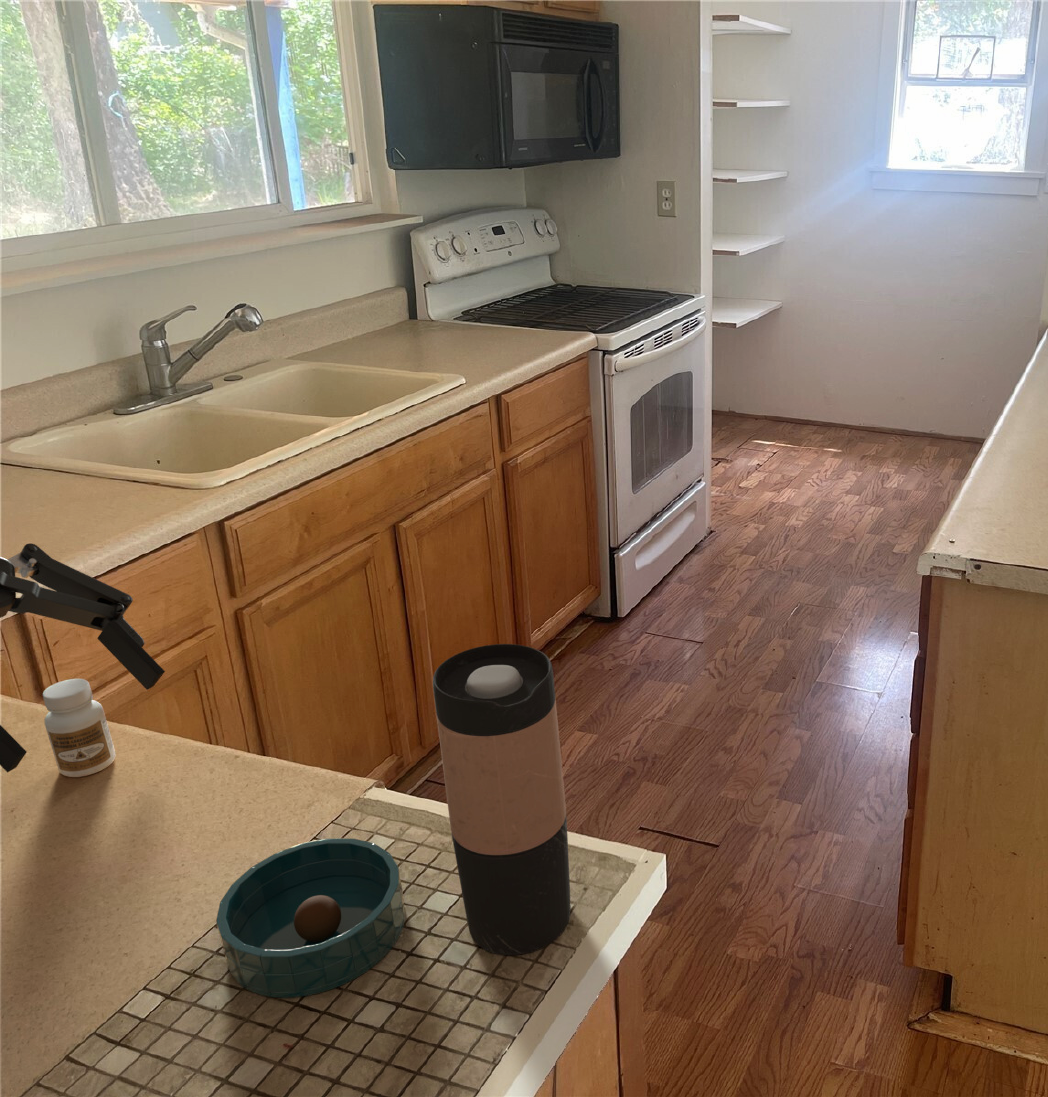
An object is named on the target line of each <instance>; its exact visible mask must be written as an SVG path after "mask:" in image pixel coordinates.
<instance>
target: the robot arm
mask: <svg viewBox="0 0 1048 1097" xmlns="http://www.w3.org/2000/svg"><path fill="white" fill-rule="evenodd" d="M17 573H18V574H19V575H20V577H18V576H16V574H17ZM27 578H30V579H31V580H30V579H27ZM39 584H40V585H42V586H44V587H42V586H40V585H39ZM45 587H46V588H45ZM17 594H21V596H20V597H17ZM133 601H134V600H133V597H132V596H131V595H130V594H128V593H126V592H125V591H123V590H120V589H118V588H115V587H114V586H111V585H109V584H108V583H106V582H103V581H100V580H98V579H97V578H95V577H92V576H90V575H89V574H86V573H84V572H82V571H80V570H77V569H75V568H73V567H71V566H69V565H67V564H65V563H63V562H61V561H58V560H56V559H55V558H52V557H51V556H50V555H49V554H48V553H47V552H45V551H44V550H43V549H42V548H40V547H39V546H38V545H37V544H36V543H32V542H31V543H26V544H24V546H23V548H22V550H21V551H20V552H19V553H17V554H14V555H13V556H11V557H10V558H4V557H2V556H0V619H2V618H3V617H5V616H7V614H8V612H10V613H11V612H12V613H15V614H20V615H21V614H23V615H24V614H27V613H28V614H33V615H37V616H41V617H45V618H50V619H53V620H58V621H61V622H65V623H69V624H73V625H77V626H81V627H85V628H89V629H93V630H97V631H101V632H100V633H99V635H98V636H97V638H96V639H97V641H98V642H100V643H101V644H102V645H103V647H105V648H106V650H108V651H109V652H110V653H111V654H112V655H113V657H114V658H116V660H117V661H118V662H119V663H120V664H121V665H122V667H124V668H125V669H126V670H127V671H128V672H129V673H130V674H131V675H132V676H133V677H134V678H135V679H136V680H137V681H138V682H139V684H140V685H141V686H142V687H143V688H144V689H145V690H146V691H148V690H151V688H153V687H155V685H156V684H157V683H158V682H159V680H160V679H161V678H162V677H163V675H164V673H165V672H166V670H164V668H162V666H161V665H160V664H159V663H158V662H157V661H156V660H155V659H154V658H153V657H152V656H151V655H150V654H149V653H148V652H147V650H145V649H144V648H143V647H144V646H145V644H146V643H145V640H144V638H143V637H142V636H141V635H140V634H139V633H138V632H137V631H136V629H134V628H133V627H132V625H131V624H129V622H128V621H126V619H125V618H124V615H125V613H126V612H127V610H128V609H129V607H130V606H131V604H132V603H133ZM27 753H28V751H27V750H26V749H25V748H24V747H23V746H22V745H21V744H20V743H19V742H18V741H17V740H16V739H15V738H14V737H13V736H12V735H11V734H10V733H9V732H8V731H7V730H6V729H5V728H4V727H3V726H2V724H0V767H1V768H2V769H3V770H4V771H5V772H6V773H9V772H11V771H13V770H14V769H16V768H17V767H18V766H19V764H20V763H21V761H22V760H23V758H24V757H25V756H26V754H27Z"/></svg>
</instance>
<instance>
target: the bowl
mask: <svg viewBox="0 0 1048 1097" xmlns="http://www.w3.org/2000/svg"><path fill="white" fill-rule="evenodd" d="M318 895H324V896H328V897H330V898H332V899H334V900H335V901H336V902H337V904H338V905H339V907H340V910H341V922H340V925H339V927H338V929H337V930H336V932H335V933H334V934H333V935H332V936H330V937H329V938H327V939H325V940H323V941H319V942H310V941H307V940H304V939H303V938H301V937H300V936H299V935H298V933H297V932H296V930H295V926H294V917H295V913H296V911H297V909H298V907H299V906H300V905H301V904H302V903H303V902H304V901H305V900H307V899H308V898H310V897H313V896H318ZM405 919H406V909H405V897H404V891H403V887H402V880H401V872H400V868H399V866H398V863H397V862H396V860H395V859H394V857H393V856H392V854H391V852H389V851H387V850H386V849H384V848H382V847H381V846H380V845H378V844H376V843H375V842H370V841H366V840H362V839H357V838H349V837H348V838H345V837H344V838H343V837H342V838H340V837H339V838H334V837H333V838H332V837H331V838H323V839H317V840H312V841H307V842H306V841H305V842H302V843H300V844H297V845H294V846H291V847H289V848H286V849H283V850H280V851H278V852H275V853H273V854H272V855H270V856H268V857H266V858H264V859H262V860H261V861H259V862H258V863H256V864H254V865H253V866H251V867H249V869H247V870H246V871H245V872H244V873H243V874H242V875H240V876H239V877H238V878H237V879H236V880H235V881H234V882H232V884H231V885H230V886H229V888H228V890H227V891H226V893H225V894H224V896H223V897H222V898H221V900H220V902H219V906H218V910H217V915H216V919H215V924H216V926H217V930H218V934H219V939H220V942H221V946H222V950H223V954H224V957H225V960H226V963H227V968H228V971H229V972H230V974H231V976H232V978H233V979H234V980H235V982H236V983H238V984H239V985H240V987H242V988H243V989H245V990H248V991H249V992H251V993H254V994H257V995H260V996H264V997H269V998H278V999H280V998H281V999H288V998H299V997H301V998H302V997H309V996H312V995H317V994H320V993H324V992H327V991H331V990H333V989H336V988H338V987H341V986H343V985H345V984H347V983H349V982H351V981H353V980H355V979H357V978H359V977H360V976H361V975H364V974H365V973H366V972H368V971H369V970H371V969H372V968H373V967H374V966H376V965H377V964H378V963H379V962H380V961H381V960H382V959H384V958H385V956H386V955H388V954H389V952H390V951H391V950H392V949H393V947H394V946H395V944H396V943H397V941H398V939H399V938H400V936H401V934H402V931H403V928H404V925H405Z"/></svg>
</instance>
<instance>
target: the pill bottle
mask: <svg viewBox="0 0 1048 1097" xmlns="http://www.w3.org/2000/svg"><path fill="white" fill-rule="evenodd" d="M89 682H90V681H89V680H86V679H84V678H69V679H65V680H62V681H58V682H56V683H53V684H51V685H50V686H48V687H46V688H45V690H43V693H42V699H43V702H44V706H45V708H46V710H47V711H48V713H47V714H46V715H45V717H44V722H43V723H44V727H45V730H46V733H47V736H48V740H49V744H50V746H51V750H52V754H53V756H54V759H55V762H56V763H55V764H56V766H57V769H58V771H59V773H60V774H61V775H63V776H65V777H69V778H80V777H81V778H82V777H86V776H90V775H93V774H96V773H98V772H101V771H103V770H104V769H107V768H108V767H109V766H110V765H112V763H113V762H114V761H115V759H116V756H117V755H116V750H115V746H114V743H113V739H112V735H111V731H110V727H109V725H108V721H107V718H106V717H107V716H106V714H105V710H104V707H103V705H102V704H101V703H100V702H99V701H97V700H95V699H94V696H93V691H92V688H91V685H90V683H89Z"/></svg>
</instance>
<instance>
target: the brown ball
mask: <svg viewBox="0 0 1048 1097" xmlns="http://www.w3.org/2000/svg"><path fill="white" fill-rule="evenodd" d="M340 922H341V910H340V907H339V905H338V904H337V902H336V901H335V900H334V899H332V898H330V897H328V896H324V895H318V896H313V897H310V898H308V899H307V900H305V901H304V902H303V903H302V904H301V905H300V906H299V907H298V909H297V911H296V913H295V917H294V926H295V930H296V932H297V933H298V935H299V936H300V937H301V938H303V939H304V940H307V941H310V942H319V941H323V940H325V939H327V938H329V937H330V936H332V935H333V934H334V933H335V932H336V930H337V929H338V927H339V925H340Z"/></svg>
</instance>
